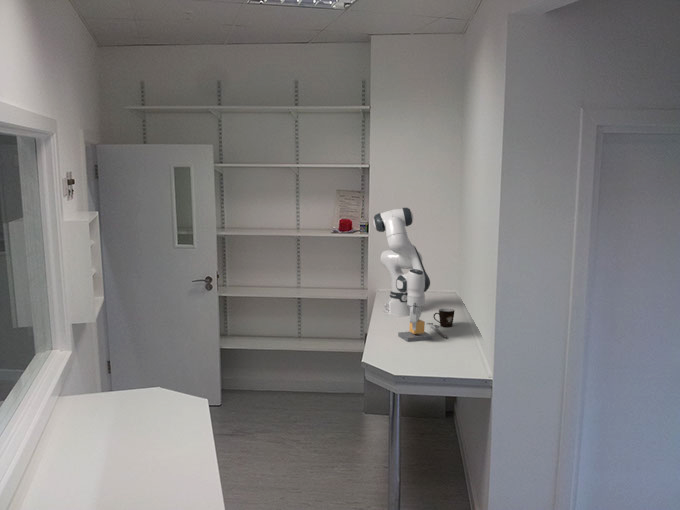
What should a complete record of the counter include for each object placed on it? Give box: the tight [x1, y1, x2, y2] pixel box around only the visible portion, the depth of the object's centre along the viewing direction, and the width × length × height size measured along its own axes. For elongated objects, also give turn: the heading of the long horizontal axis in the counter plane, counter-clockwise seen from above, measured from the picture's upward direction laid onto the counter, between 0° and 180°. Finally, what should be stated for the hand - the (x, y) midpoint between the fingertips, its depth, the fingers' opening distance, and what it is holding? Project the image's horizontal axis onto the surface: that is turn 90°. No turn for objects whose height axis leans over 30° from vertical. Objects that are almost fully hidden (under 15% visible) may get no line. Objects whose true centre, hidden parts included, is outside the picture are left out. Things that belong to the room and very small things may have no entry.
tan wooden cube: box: [408, 318, 426, 334], centre depth 301 cm, size 6×6×6 cm
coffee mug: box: [433, 307, 455, 328], centre depth 325 cm, size 12×9×10 cm
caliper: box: [426, 322, 449, 339], centre depth 315 cm, size 29×2×5 cm
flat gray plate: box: [397, 331, 434, 343], centre depth 301 cm, size 12×14×6 cm
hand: (415, 328), depth 301 cm, fingers closed on tan wooden cube, 7 cm apart
